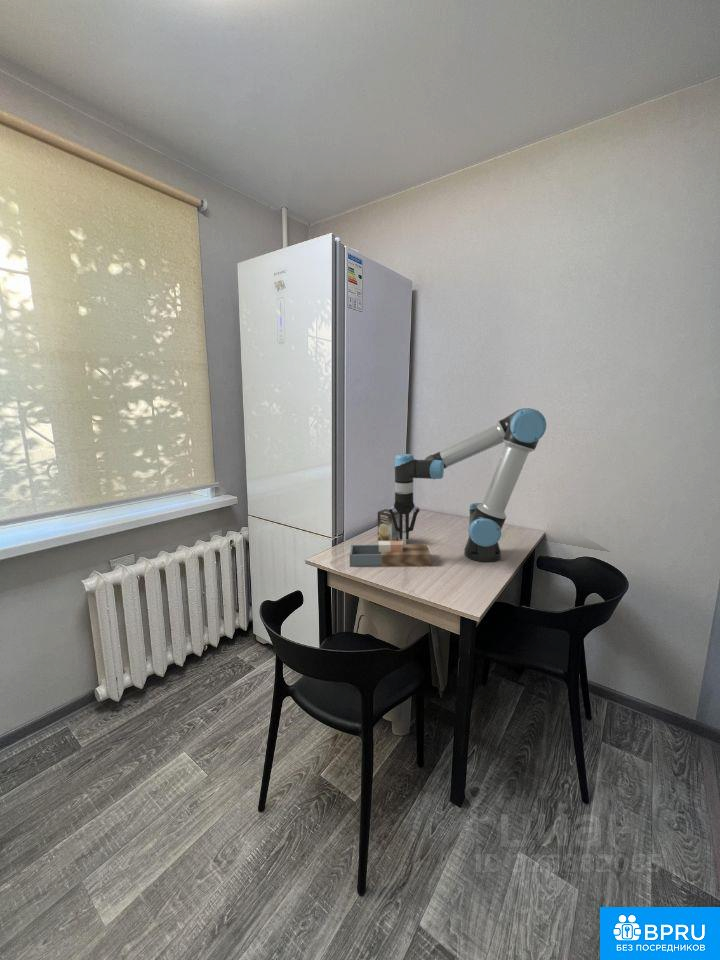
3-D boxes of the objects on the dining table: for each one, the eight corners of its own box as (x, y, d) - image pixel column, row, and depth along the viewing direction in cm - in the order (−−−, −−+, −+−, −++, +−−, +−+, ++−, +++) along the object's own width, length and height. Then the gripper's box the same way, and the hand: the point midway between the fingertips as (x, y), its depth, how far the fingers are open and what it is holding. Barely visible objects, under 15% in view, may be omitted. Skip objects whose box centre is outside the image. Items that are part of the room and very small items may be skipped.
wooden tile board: (426, 555, 169) (426, 544, 168) (430, 566, 157) (430, 554, 156) (380, 555, 170) (380, 544, 169) (381, 566, 158) (381, 555, 157)
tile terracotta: (401, 547, 165) (401, 540, 164) (402, 551, 160) (402, 544, 159) (390, 547, 165) (390, 540, 165) (390, 551, 160) (390, 544, 160)
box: (380, 555, 170) (380, 544, 169) (381, 566, 158) (381, 555, 157) (351, 555, 170) (351, 545, 169) (349, 566, 158) (349, 555, 157)
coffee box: (377, 544, 184) (376, 511, 181) (385, 540, 189) (385, 508, 186) (392, 548, 178) (391, 514, 175) (400, 544, 182) (400, 511, 180)
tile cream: (390, 547, 165) (390, 540, 165) (390, 551, 160) (390, 544, 160) (378, 547, 165) (378, 540, 165) (378, 551, 160) (378, 545, 160)
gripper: (418, 489, 161) (418, 543, 166) (387, 490, 162) (388, 543, 166) (421, 493, 154) (420, 549, 158) (388, 494, 154) (388, 549, 159)
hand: (404, 546), depth 162 cm, fingers closed
